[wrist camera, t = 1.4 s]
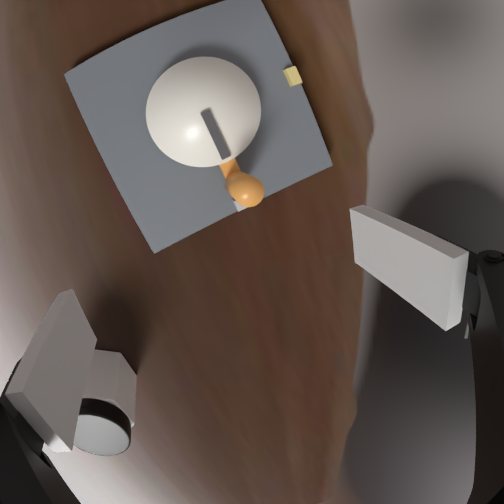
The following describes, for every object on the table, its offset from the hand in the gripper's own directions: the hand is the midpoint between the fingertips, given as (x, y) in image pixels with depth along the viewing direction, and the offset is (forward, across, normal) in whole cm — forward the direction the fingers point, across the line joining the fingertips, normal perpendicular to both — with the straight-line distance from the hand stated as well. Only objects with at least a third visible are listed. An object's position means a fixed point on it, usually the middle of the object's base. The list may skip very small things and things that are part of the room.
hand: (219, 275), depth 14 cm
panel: (+23, +3, +8) cm, 24 cm away
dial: (+20, +3, +6) cm, 22 cm away
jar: (+23, -18, -20) cm, 36 cm away
